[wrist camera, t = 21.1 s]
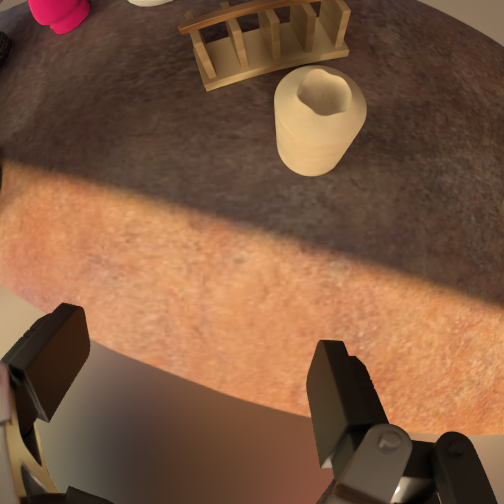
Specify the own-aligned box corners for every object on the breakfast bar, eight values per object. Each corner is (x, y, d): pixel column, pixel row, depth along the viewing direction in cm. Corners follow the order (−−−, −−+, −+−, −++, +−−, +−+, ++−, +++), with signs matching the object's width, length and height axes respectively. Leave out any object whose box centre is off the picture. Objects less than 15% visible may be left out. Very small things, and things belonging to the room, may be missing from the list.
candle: (283, 181, 25) (284, 142, 15) (271, 121, 25) (265, 58, 15) (347, 172, 24) (384, 131, 14) (333, 113, 24) (356, 50, 14)
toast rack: (207, 91, 25) (183, 47, 18) (195, 54, 25) (172, 9, 18) (347, 56, 24) (362, 8, 16) (327, 22, 24) (335, -26, 16)
